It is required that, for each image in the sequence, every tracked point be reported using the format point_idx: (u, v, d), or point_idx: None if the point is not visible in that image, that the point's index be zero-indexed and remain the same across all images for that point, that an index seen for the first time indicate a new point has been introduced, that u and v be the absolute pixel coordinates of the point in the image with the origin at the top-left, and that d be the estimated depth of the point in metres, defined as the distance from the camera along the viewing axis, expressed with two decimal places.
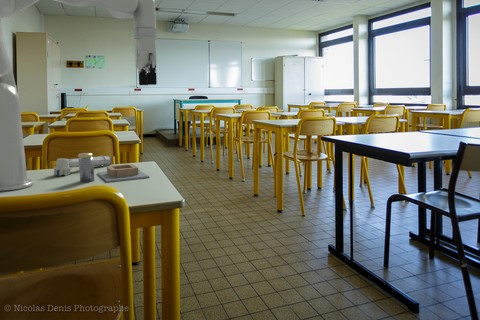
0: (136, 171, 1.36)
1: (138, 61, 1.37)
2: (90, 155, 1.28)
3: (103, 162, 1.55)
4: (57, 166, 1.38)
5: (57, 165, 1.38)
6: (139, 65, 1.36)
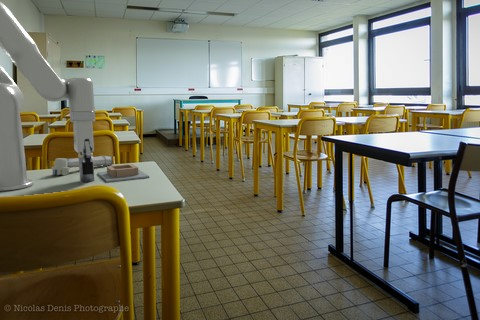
0: (136, 171, 1.36)
1: (75, 145, 1.27)
2: None
3: (103, 162, 1.54)
4: (55, 166, 1.38)
5: (55, 165, 1.38)
6: (76, 150, 1.27)
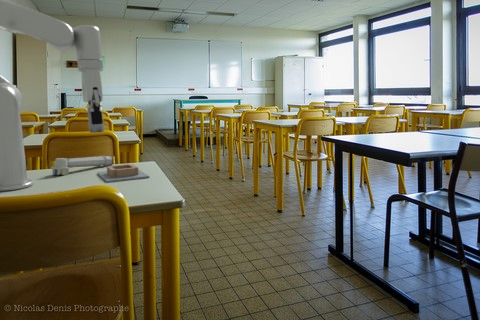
0: (136, 171, 1.36)
1: (83, 95, 1.27)
2: None
3: (104, 162, 1.55)
4: (55, 165, 1.38)
5: (55, 164, 1.39)
6: (84, 100, 1.26)
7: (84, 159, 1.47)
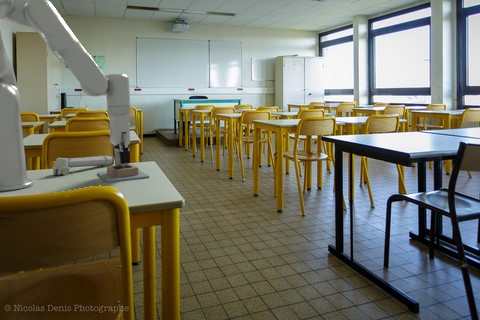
0: (136, 171, 1.36)
1: (111, 138, 1.35)
2: None
3: (104, 162, 1.55)
4: (56, 165, 1.39)
5: (56, 164, 1.39)
6: (112, 142, 1.34)
7: (85, 159, 1.48)
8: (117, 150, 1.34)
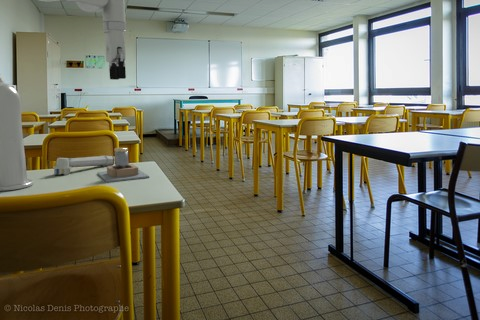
0: (136, 171, 1.36)
1: (107, 55, 1.38)
2: (126, 149, 1.35)
3: (105, 162, 1.55)
4: (57, 165, 1.39)
5: (57, 164, 1.39)
6: (108, 59, 1.37)
7: (85, 159, 1.48)
8: (117, 150, 1.34)
